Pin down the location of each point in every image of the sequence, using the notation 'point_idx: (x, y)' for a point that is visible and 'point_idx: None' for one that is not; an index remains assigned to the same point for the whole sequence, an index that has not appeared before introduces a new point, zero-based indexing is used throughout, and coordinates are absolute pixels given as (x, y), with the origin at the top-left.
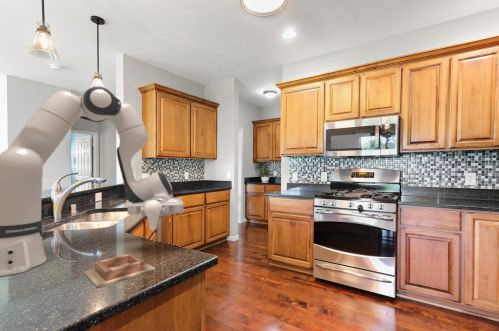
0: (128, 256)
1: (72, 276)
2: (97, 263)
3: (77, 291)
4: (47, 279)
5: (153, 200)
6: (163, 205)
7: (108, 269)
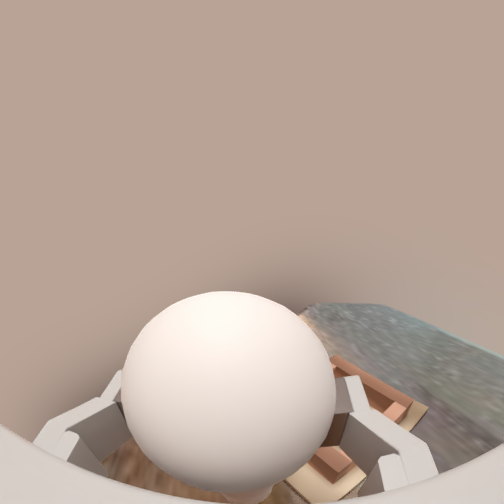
0: (338, 453)
1: (437, 396)
2: (398, 393)
3: (367, 352)
4: (470, 380)
5: (212, 296)
6: (80, 469)
7: (339, 364)
